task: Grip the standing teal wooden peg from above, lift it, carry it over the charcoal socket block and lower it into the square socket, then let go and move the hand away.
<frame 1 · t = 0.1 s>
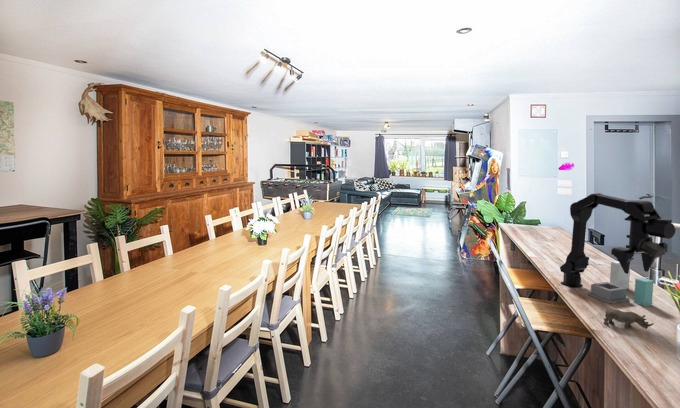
hand: (636, 272, 140), 15 cm above the table, tool pointing down, fingers open, 9 cm apart
teal peg: (642, 303, 146), on the table
skincare box: (619, 288, 163), on the table
rhino figurine: (627, 328, 127), on the table
socket block: (607, 297, 153), on the table
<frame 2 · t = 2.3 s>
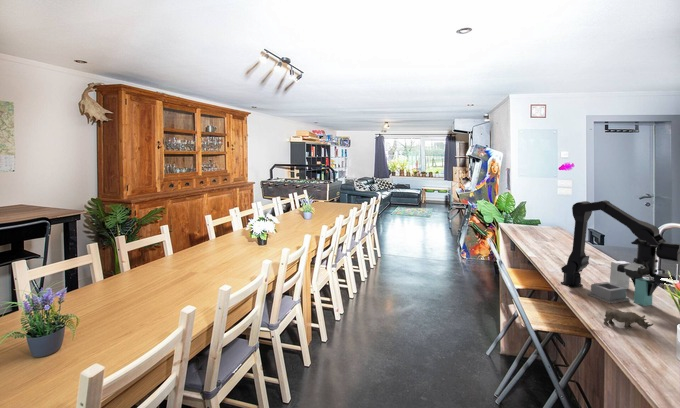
hand: (643, 293, 146), 4 cm above the table, tool pointing down, fingers closed on teal peg, 4 cm apart
teal peg: (642, 303, 146), on the table, touching gripper
everything else where it was.
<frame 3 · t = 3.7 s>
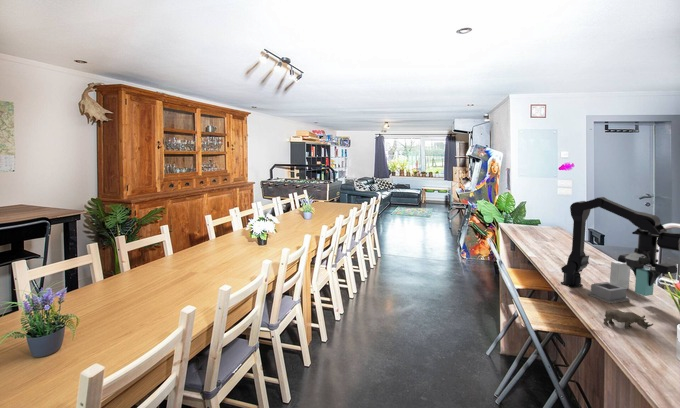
hand: (644, 284, 145), 8 cm above the table, tool pointing down, fingers closed on teal peg, 4 cm apart
teal peg: (643, 293, 145), point 4 cm above the table, touching gripper
everything else where it was.
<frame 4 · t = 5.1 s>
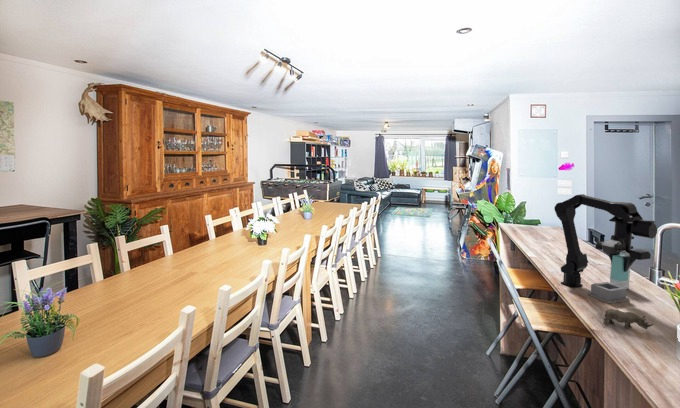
hand: (619, 270, 149), 13 cm above the table, tool pointing down, fingers closed on teal peg, 4 cm apart
teal peg: (619, 279, 150), point 9 cm above the table, touching gripper
everything else where it was.
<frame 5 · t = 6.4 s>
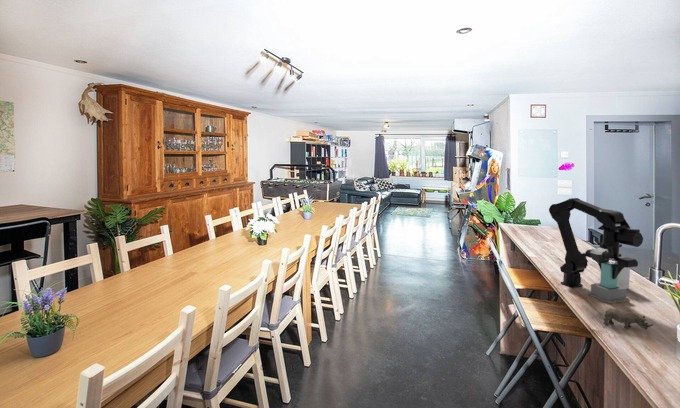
hand: (608, 277, 152), 9 cm above the table, tool pointing down, fingers closed on teal peg, 4 cm apart
teal peg: (608, 286, 153), point 5 cm above the table, touching gripper
everything else where it was.
when the fingers open (6 cm above the table, at t = 7.7 s): teal peg drops 1 cm, resting on socket block.
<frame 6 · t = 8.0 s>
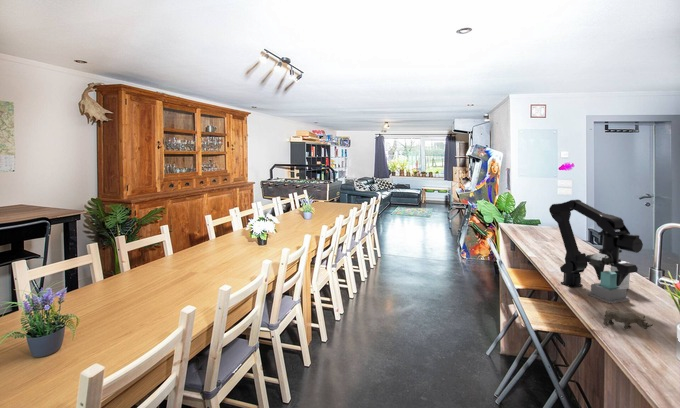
hand: (608, 282, 152), 6 cm above the table, tool pointing down, fingers open, 8 cm apart
teal peg: (607, 295, 153), point 1 cm above the table, touching socket block
everything else where it was.
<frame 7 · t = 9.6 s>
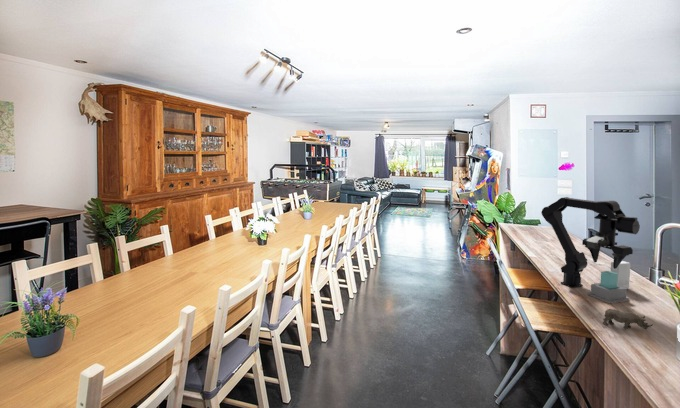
hand: (604, 265, 156), 13 cm above the table, tool pointing down, fingers open, 9 cm apart
nothing on the table moved.
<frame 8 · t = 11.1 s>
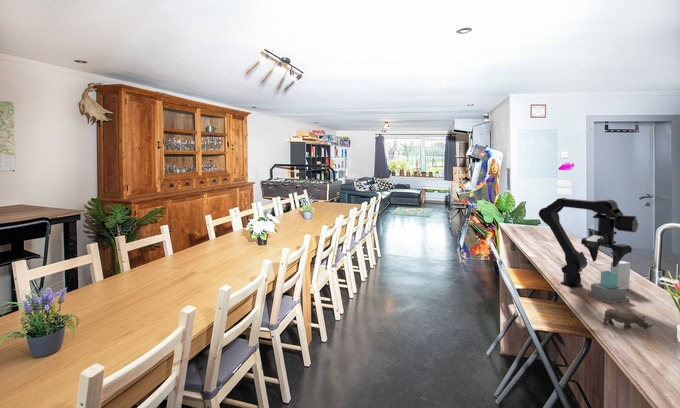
hand: (604, 264, 157), 13 cm above the table, tool pointing down, fingers open, 9 cm apart
nothing on the table moved.
at the end: teal peg 0.0 cm off-centre on the socket block, point 1.0 cm above the socket block's base; teal peg tilted 0°; the gripper is holding nothing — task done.
